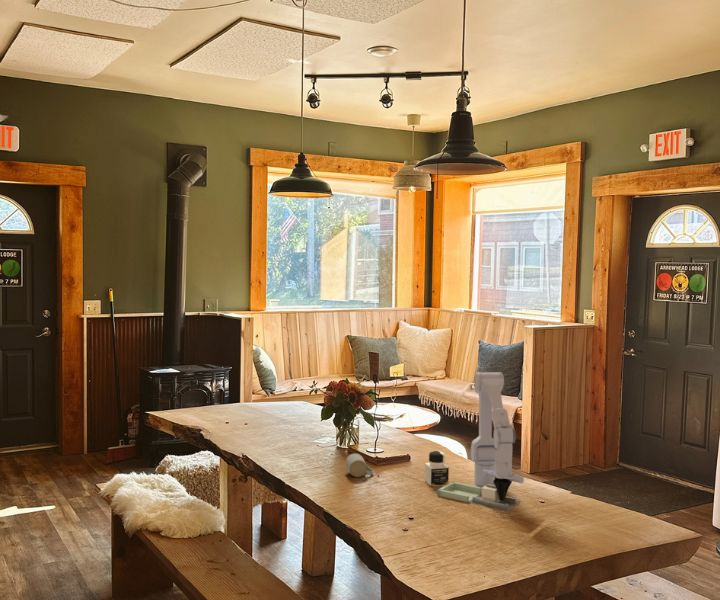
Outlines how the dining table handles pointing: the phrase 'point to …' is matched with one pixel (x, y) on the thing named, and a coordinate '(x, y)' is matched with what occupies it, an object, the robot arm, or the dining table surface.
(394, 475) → the dining table surface
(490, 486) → the beige cardboard box
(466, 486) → the tray
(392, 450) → the dining table surface
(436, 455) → the medicine bottle
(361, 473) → the ceramic mug
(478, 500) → the dock
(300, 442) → the dining table surface
